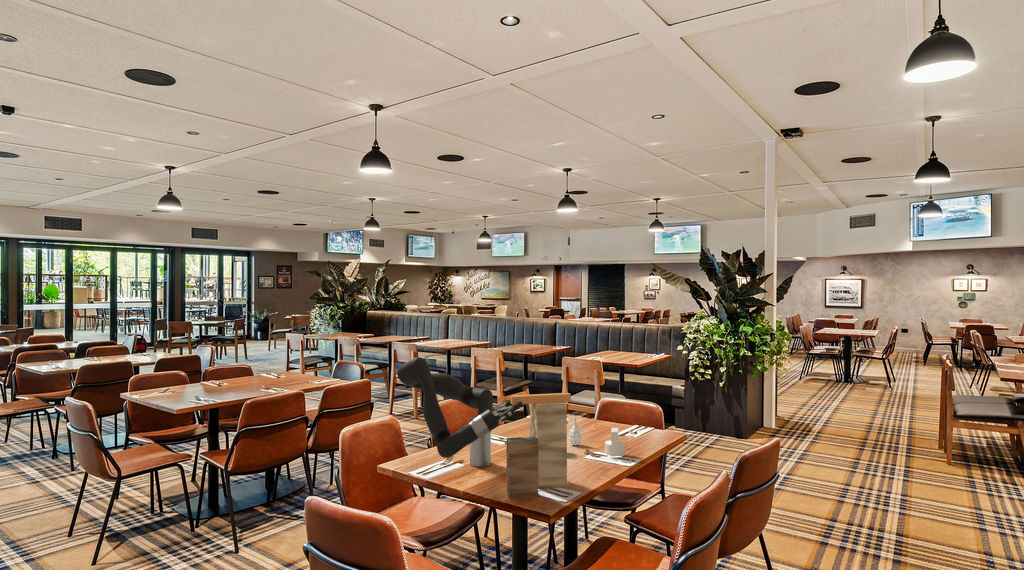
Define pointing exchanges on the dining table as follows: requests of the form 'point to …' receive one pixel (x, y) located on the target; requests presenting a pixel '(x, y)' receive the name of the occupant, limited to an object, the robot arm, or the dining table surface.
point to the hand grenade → (575, 434)
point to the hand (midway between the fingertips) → (518, 400)
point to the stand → (550, 443)
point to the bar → (540, 398)
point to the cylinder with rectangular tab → (614, 445)
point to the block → (522, 467)
